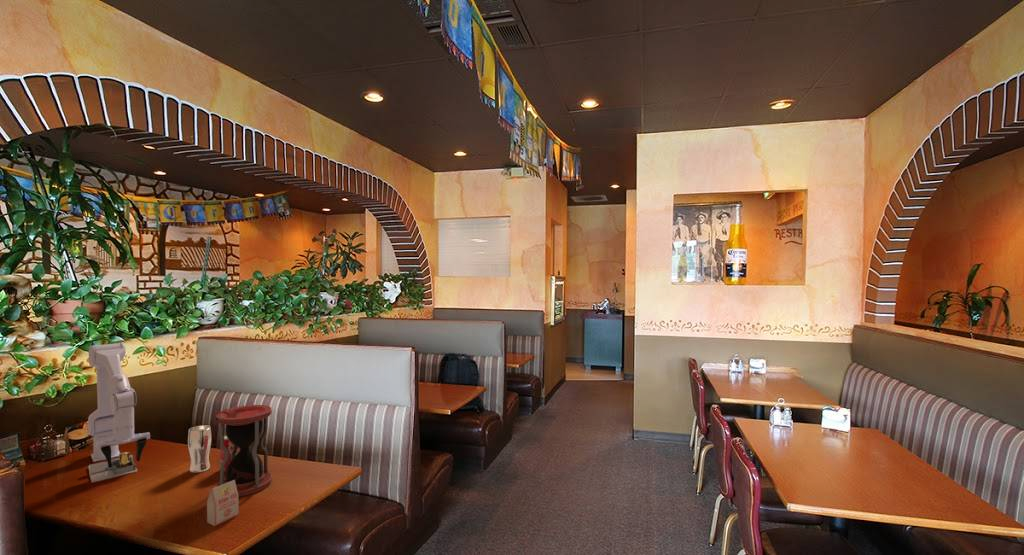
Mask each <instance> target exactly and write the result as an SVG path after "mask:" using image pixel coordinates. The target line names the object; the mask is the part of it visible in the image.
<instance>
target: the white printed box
mask: <svg viewBox="0 0 1024 555" xmlns="http://www.w3.org/2000/svg"><path fill="white" fill-rule="evenodd" d="M239 509H240V507H239V496H238V491H237V488H236V483H235V480H232V481H230V482H227V483H225V484H222V485H220V486H217V485H216V486H215V487H213V488H210V490H209V495H208V498H207V500H206V521H207V522H206V523H207V524H209V525H211V526H214V527H216V526H218V525H221V524H222V523H224V522H227V521H229V520H230V519H233V518H235V517H238V516H239V515H240V514H239Z"/></svg>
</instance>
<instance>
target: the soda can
mask: <svg viewBox="0 0 1024 555" xmlns="http://www.w3.org/2000/svg"><path fill="white" fill-rule="evenodd" d="M224 445H225V447H227V448H228V449H229V452H230V456H229V460H228V461H227V463H226V464H225V467H224V473H226V470H227V466H228V464H229V462H230V461H231V454H232V451H233V443H232V442H231V441H230V440H229V439H228V437H227V435H225V434H224ZM239 451H240V448H239V447H238V449H237V451H236V454H237V453H238V452H239ZM236 454H235V455H236ZM219 458H220V459H219V462H220V463H219V464H220V465H219V466H220V467H221V464H222V462H223V461H224V458H225V451H224V450H223V449H222V448H221V446H220V445H219Z"/></svg>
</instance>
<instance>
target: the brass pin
mask: <svg viewBox="0 0 1024 555" xmlns="http://www.w3.org/2000/svg"><path fill="white" fill-rule="evenodd" d="M129 455H130V451H125V452H124V451H123V452H120V454H119V456H118V458H119V468H122V467H127V466H129Z"/></svg>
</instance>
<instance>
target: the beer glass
mask: <svg viewBox="0 0 1024 555" xmlns="http://www.w3.org/2000/svg"><path fill="white" fill-rule="evenodd" d="M187 435H188V436H187V447H188V452H189V456H190V467H189V472H190V473H193V474H195V473H203V472H205V471H208V470H209V469H210V468H211V463H210V460H209V456H210V450H211V446H212V430H211V425H209V424H208V425H207V424H206V425H205V424H203V425H196V426H194V427H193V426H192V427H190V428H189V429H188V434H187Z"/></svg>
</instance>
